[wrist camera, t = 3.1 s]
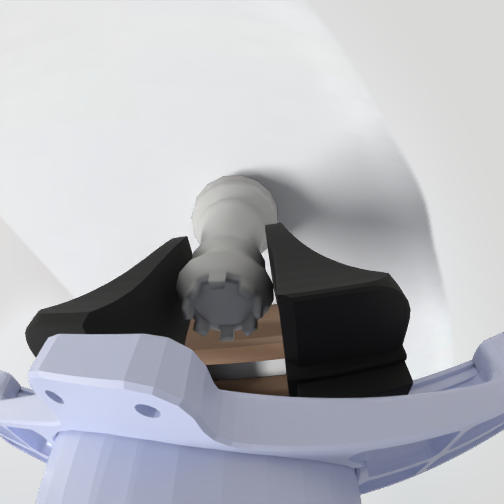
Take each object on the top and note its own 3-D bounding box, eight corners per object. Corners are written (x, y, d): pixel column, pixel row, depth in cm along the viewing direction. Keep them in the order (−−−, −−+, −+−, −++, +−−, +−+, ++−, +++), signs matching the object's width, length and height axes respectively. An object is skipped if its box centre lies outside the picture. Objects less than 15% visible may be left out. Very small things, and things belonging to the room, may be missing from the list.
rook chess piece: (283, 178, 15) (311, 260, 8) (270, 253, 17) (279, 364, 10) (197, 168, 14) (146, 240, 7) (193, 243, 17) (156, 349, 10)
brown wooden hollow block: (337, 372, 23) (344, 404, 20) (184, 385, 24) (178, 417, 21) (342, 294, 19) (356, 331, 16) (147, 316, 20) (133, 351, 17)
